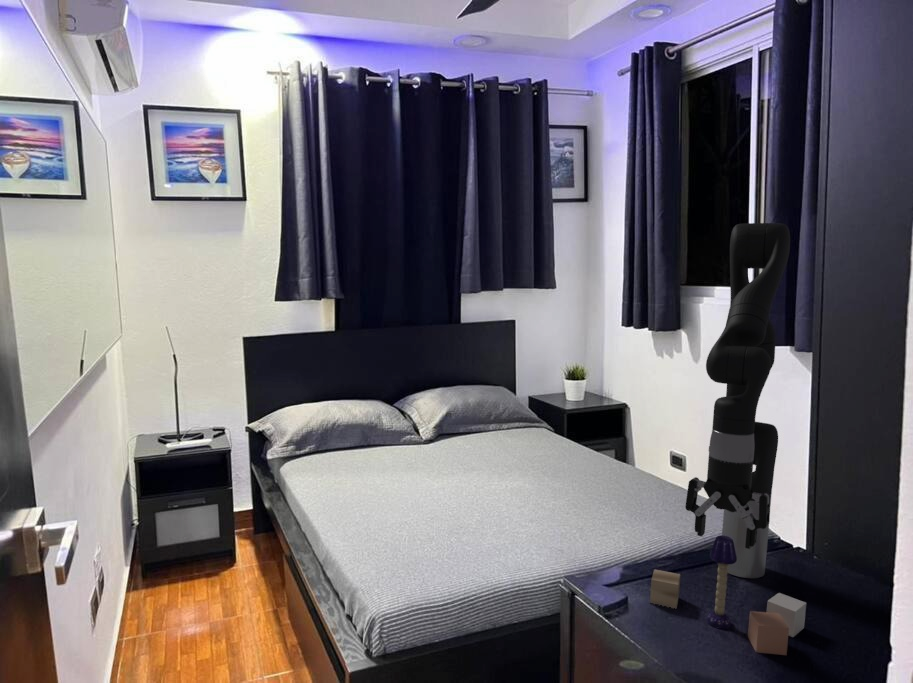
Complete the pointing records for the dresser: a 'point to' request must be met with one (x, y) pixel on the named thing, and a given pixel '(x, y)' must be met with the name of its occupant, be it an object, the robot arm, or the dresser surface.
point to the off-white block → (788, 611)
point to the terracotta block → (768, 633)
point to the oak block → (665, 588)
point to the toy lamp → (721, 579)
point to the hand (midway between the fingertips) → (724, 541)
